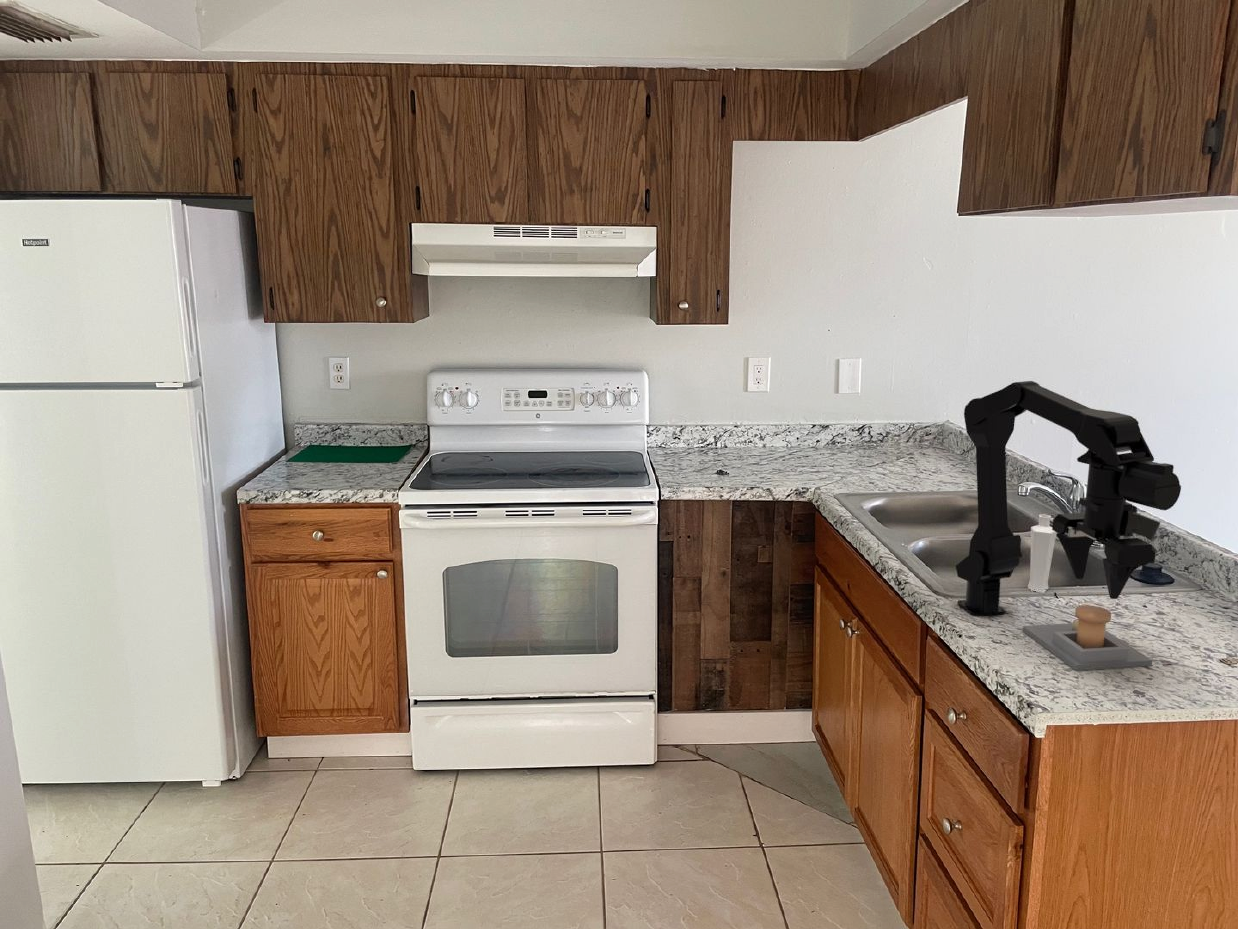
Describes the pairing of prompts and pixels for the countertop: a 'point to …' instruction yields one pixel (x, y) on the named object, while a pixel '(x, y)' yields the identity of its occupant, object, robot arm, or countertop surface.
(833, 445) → the countertop surface
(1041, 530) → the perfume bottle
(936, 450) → the countertop surface
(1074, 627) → the housing
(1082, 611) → the tan flared peg
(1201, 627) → the countertop surface
